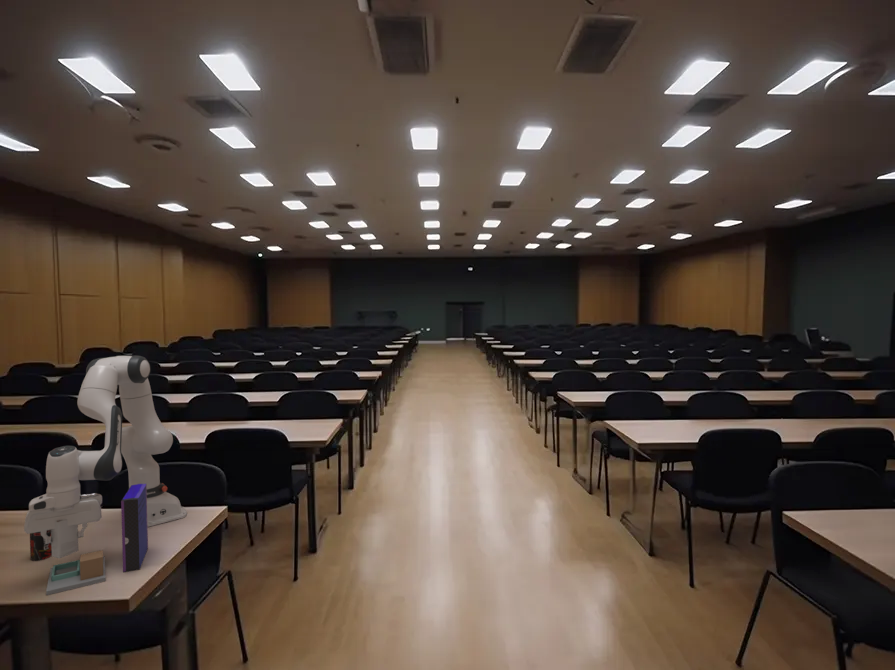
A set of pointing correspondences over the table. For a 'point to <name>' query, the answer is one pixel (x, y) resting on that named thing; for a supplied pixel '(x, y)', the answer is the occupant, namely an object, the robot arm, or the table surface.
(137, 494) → the cereal box
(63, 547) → the skincare box
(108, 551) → the table surface
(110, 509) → the table surface
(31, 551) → the deodorant
